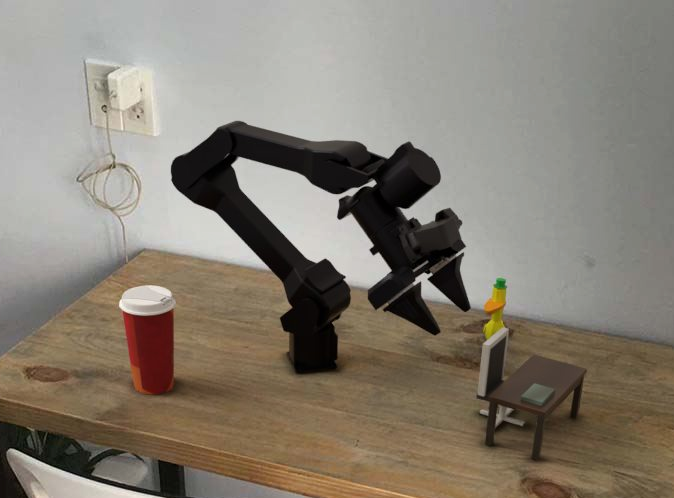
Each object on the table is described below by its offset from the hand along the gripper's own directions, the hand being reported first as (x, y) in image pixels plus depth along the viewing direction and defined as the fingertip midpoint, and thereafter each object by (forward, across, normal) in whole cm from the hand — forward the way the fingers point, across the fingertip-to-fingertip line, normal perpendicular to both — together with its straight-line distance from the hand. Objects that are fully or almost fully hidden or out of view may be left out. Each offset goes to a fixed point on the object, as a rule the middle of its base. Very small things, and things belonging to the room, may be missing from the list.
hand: (453, 321), depth 153 cm
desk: (+18, 0, 0) cm, 19 cm away
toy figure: (+8, +18, +10) cm, 23 cm away
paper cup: (-18, -19, +36) cm, 44 cm away
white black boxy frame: (+15, 0, +3) cm, 15 cm away
